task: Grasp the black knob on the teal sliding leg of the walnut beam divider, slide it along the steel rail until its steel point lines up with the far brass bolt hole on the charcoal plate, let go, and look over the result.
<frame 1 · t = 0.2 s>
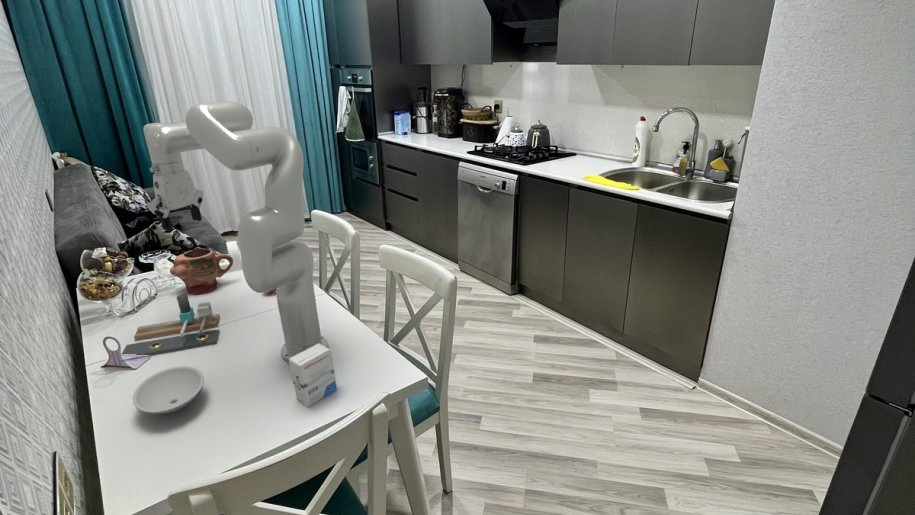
hand: (183, 225, 140), 30 cm above the table, tool pointing down, fingers open, 9 cm apart
ink box: (317, 395, 113), on the table
hole plate: (172, 345, 134), on the table
sliding leg: (182, 315, 138), point 6 cm above the table, slide at 5.0 cm
onion: (271, 293, 165), on the table
tape dispenser: (236, 267, 188), on the table
dish: (174, 405, 110), on the table
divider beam: (179, 328, 143), on the table
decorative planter: (208, 288, 170), on the table
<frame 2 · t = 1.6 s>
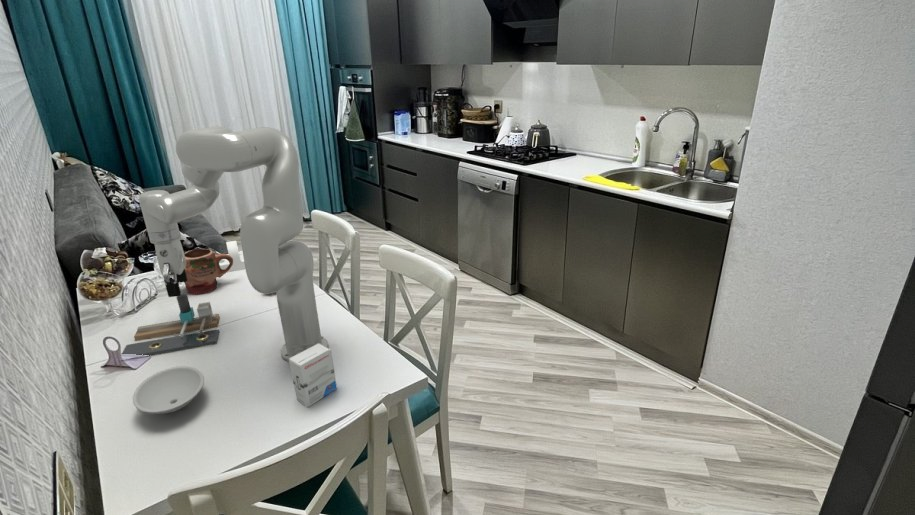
hand: (178, 288, 139), 13 cm above the table, tool pointing down, fingers open, 9 cm apart
nothing on the table moved.
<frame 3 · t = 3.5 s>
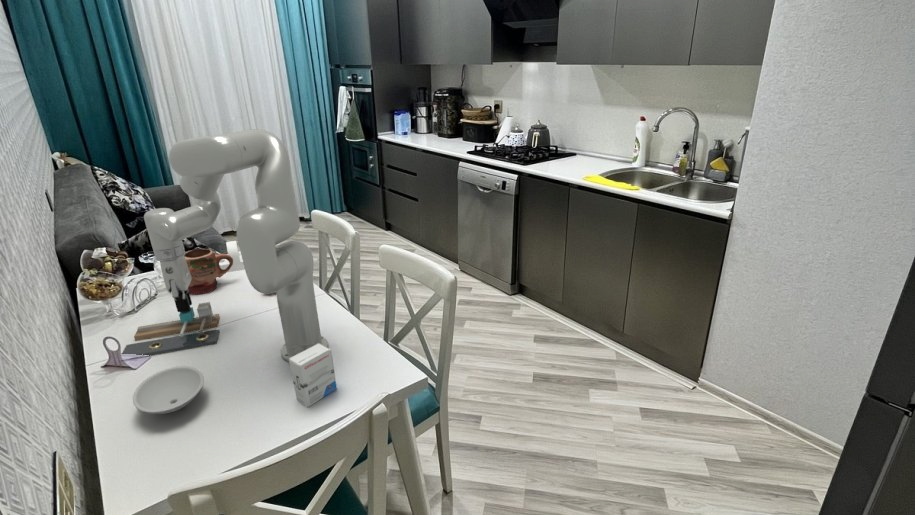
hand: (185, 307, 141), 7 cm above the table, tool pointing down, fingers closed on sliding leg, 2 cm apart
sliding leg: (182, 315, 138), point 6 cm above the table, slide at 5.0 cm, touching gripper
everything else where it was.
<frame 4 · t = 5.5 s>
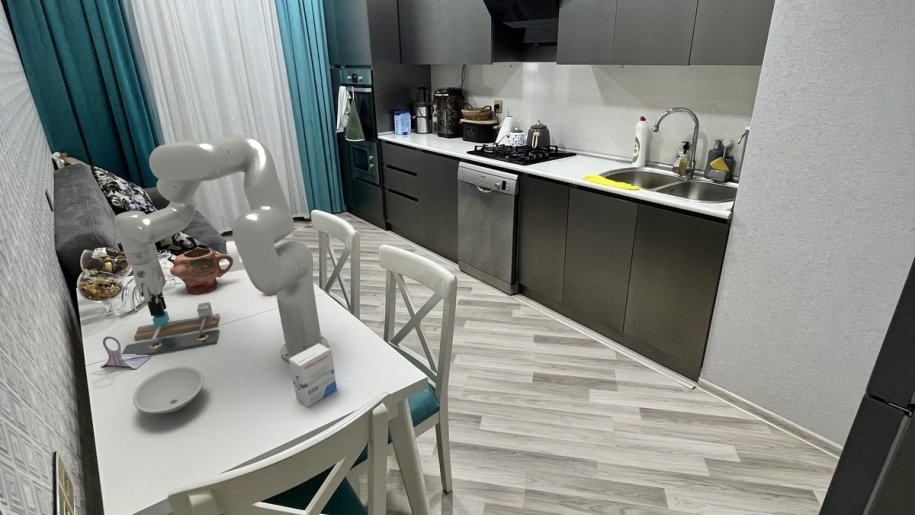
hand: (158, 311, 139), 7 cm above the table, tool pointing down, fingers closed on sliding leg, 2 cm apart
sliding leg: (156, 319, 136), point 6 cm above the table, slide at 12.0 cm, touching gripper
everything else where it was.
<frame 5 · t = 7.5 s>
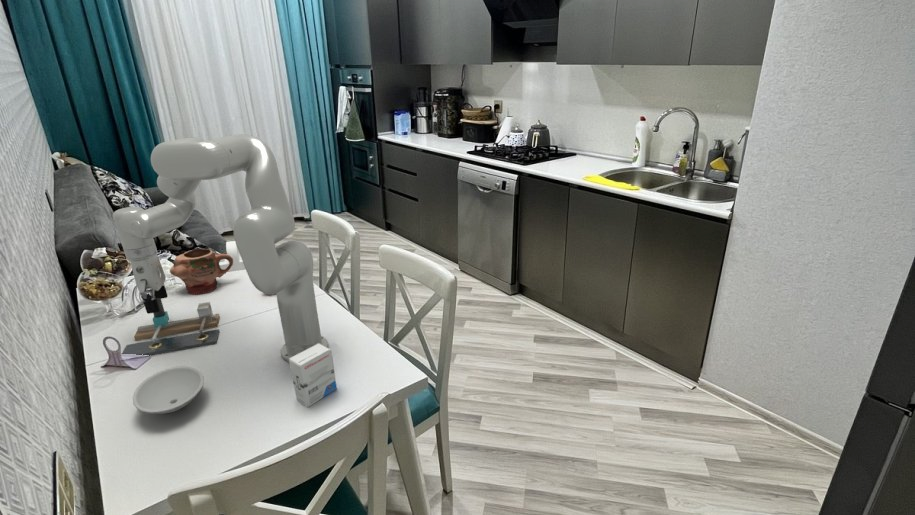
hand: (158, 305, 138), 9 cm above the table, tool pointing down, fingers open, 9 cm apart
sliding leg: (155, 319, 136), point 6 cm above the table, slide at 12.0 cm
everything else where it was.
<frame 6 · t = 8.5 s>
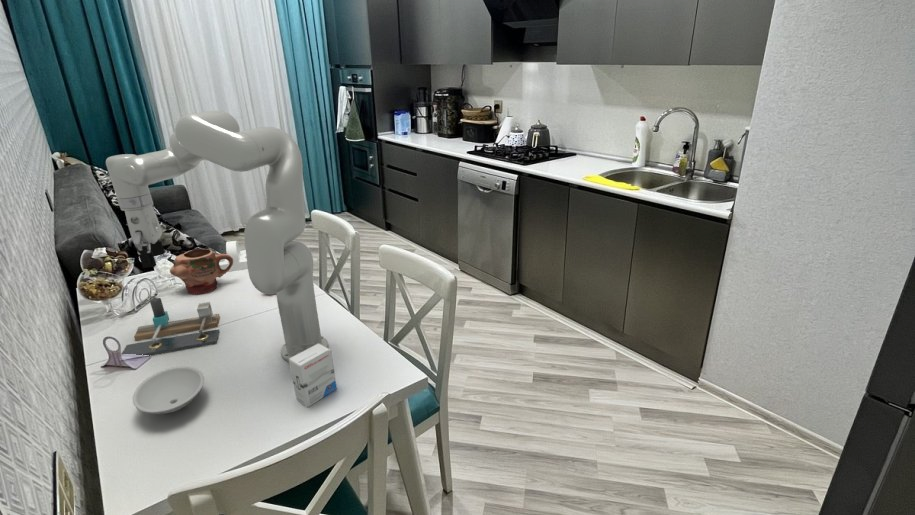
hand: (154, 260, 132), 24 cm above the table, tool pointing down, fingers open, 9 cm apart
nothing on the table moved.
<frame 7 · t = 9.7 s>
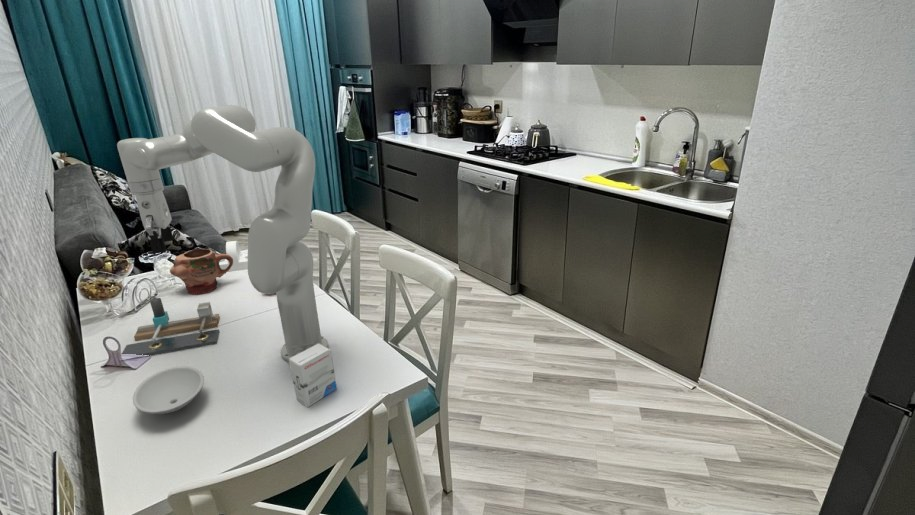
hand: (163, 246, 131), 27 cm above the table, tool pointing down, fingers open, 9 cm apart
nothing on the table moved.
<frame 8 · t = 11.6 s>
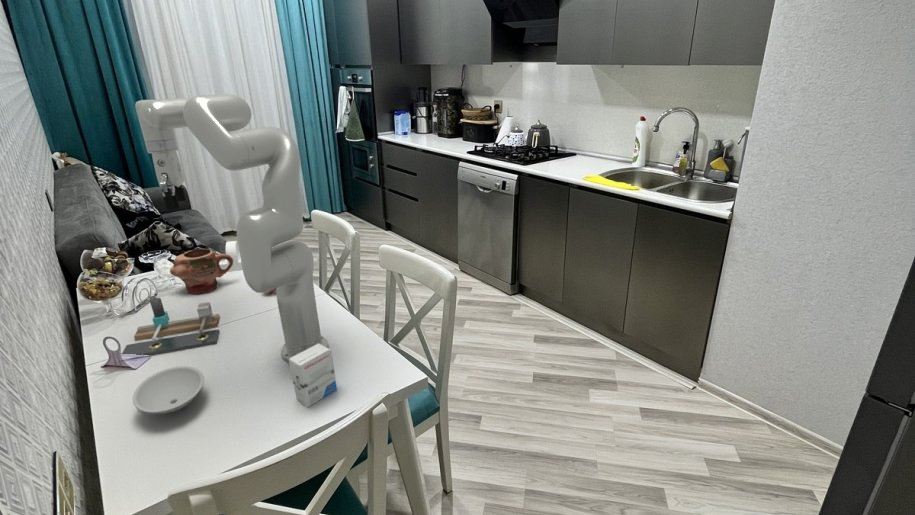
hand: (177, 205, 138), 36 cm above the table, tool pointing down, fingers open, 9 cm apart
at the end: sliding leg slide at 12.0 cm; the gripper is holding nothing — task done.
